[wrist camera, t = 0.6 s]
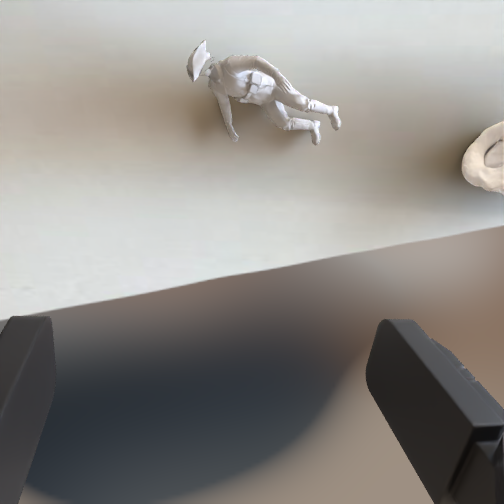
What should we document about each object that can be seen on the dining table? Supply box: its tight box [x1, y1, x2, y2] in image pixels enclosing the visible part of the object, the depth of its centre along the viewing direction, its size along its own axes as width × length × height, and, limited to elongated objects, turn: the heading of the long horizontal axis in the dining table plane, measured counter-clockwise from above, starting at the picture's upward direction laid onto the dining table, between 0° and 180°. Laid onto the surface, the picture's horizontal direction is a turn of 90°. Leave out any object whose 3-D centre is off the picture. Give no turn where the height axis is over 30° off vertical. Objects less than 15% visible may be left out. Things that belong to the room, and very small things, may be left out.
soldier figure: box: [187, 40, 341, 145], centre depth 33 cm, size 8×5×12 cm
